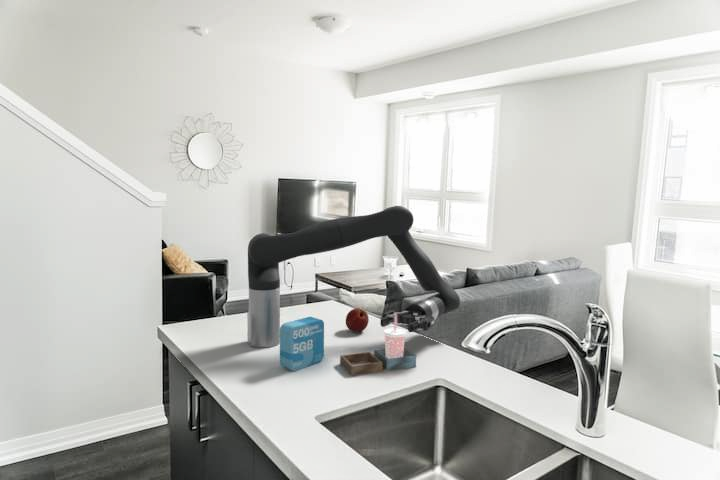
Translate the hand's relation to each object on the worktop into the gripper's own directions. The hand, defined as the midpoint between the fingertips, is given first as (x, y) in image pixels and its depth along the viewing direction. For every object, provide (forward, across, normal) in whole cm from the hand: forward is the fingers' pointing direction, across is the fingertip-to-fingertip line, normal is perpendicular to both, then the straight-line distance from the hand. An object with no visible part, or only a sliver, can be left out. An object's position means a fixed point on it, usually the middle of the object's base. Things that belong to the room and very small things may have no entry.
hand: (395, 325), depth 133 cm
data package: (+15, -20, +11) cm, 27 cm away
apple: (-18, -24, +11) cm, 32 cm away
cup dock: (+4, -3, +11) cm, 12 cm away
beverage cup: (0, 0, +11) cm, 11 cm away
